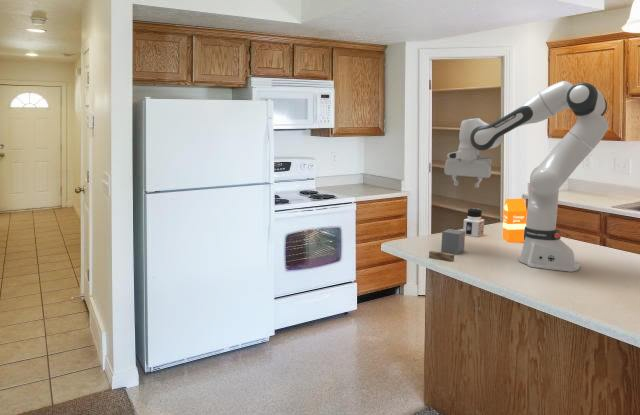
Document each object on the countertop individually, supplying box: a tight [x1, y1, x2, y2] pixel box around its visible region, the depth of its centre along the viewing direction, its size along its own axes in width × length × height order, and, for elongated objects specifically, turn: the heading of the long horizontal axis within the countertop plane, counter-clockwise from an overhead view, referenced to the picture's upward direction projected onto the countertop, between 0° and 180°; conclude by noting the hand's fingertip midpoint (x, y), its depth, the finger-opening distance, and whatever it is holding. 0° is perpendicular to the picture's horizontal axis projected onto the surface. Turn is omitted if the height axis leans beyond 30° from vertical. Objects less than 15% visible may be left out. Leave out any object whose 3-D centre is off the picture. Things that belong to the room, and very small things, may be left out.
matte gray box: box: [440, 228, 466, 255], centre depth 228 cm, size 7×7×9 cm
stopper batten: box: [428, 250, 455, 262], centre depth 216 cm, size 10×2×2 cm, turn 56°
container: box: [462, 207, 485, 238], centre depth 261 cm, size 8×8×13 cm
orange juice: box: [502, 198, 527, 243], centre depth 250 cm, size 8×9×20 cm
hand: (466, 186), depth 234 cm, fingers open, 8 cm apart
